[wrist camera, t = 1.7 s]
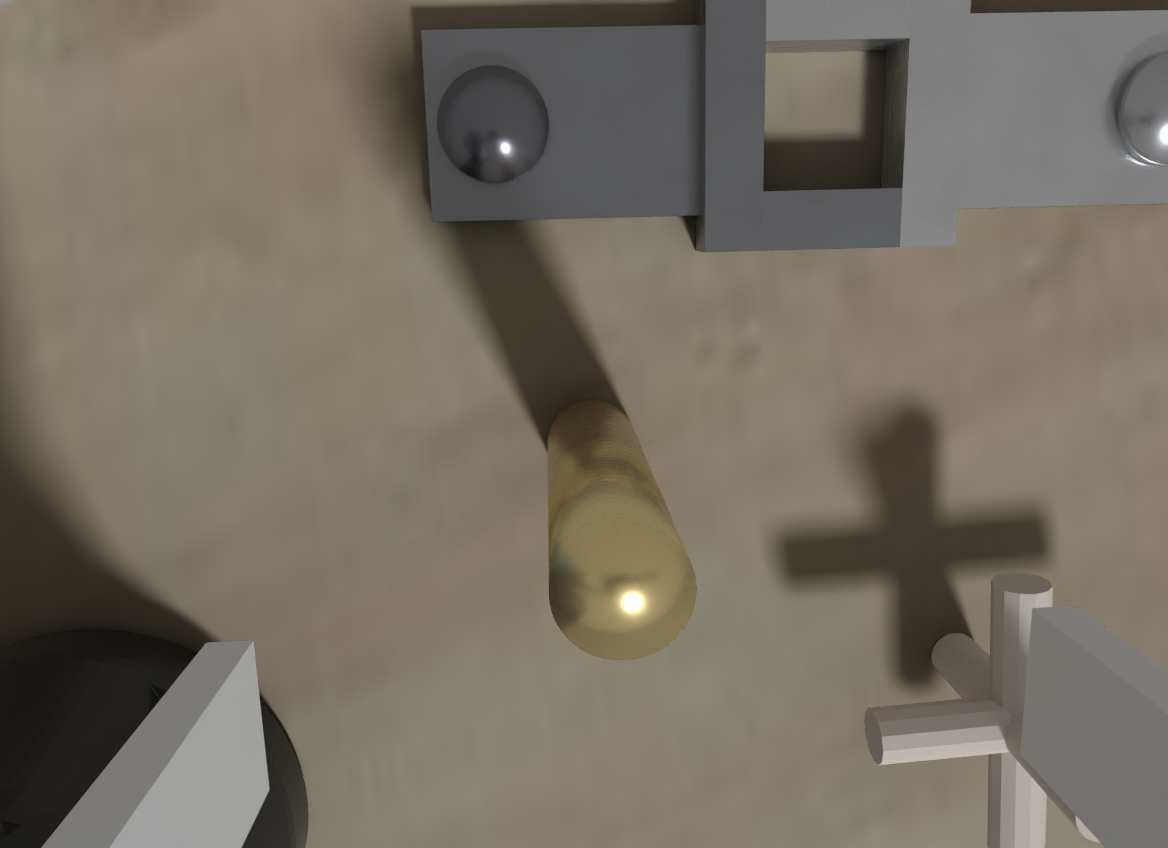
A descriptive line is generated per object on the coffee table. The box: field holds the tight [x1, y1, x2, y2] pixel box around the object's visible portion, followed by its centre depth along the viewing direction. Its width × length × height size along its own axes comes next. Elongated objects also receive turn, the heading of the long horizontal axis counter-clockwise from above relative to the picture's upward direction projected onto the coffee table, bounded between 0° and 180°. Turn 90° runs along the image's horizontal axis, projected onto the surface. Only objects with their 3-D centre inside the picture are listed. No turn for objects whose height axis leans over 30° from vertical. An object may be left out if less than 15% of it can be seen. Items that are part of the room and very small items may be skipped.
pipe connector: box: [864, 573, 1100, 848], centre depth 31 cm, size 10×10×10 cm
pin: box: [548, 400, 697, 660], centre depth 27 cm, size 3×3×14 cm
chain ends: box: [421, 0, 1168, 252], centre depth 30 cm, size 26×8×3 cm, turn 92°
